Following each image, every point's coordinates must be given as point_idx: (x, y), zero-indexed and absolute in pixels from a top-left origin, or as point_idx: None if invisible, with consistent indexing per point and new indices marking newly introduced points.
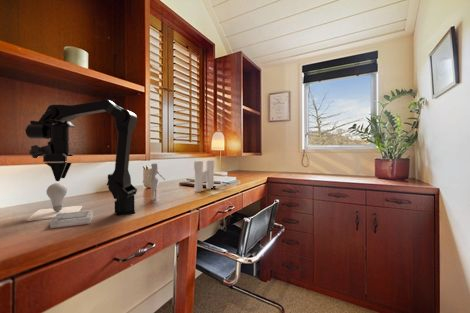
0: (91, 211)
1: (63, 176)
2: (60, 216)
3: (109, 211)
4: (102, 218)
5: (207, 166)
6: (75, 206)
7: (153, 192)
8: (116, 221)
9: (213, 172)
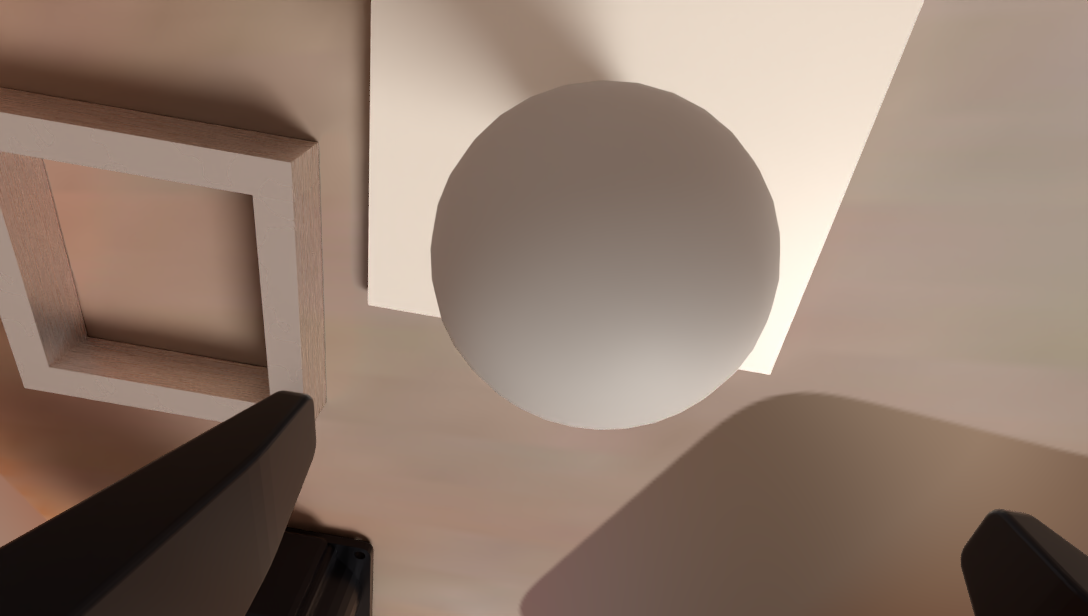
0: None
1: (998, 587)
2: (207, 180)
3: (402, 507)
4: (189, 438)
5: None
6: (780, 316)
7: None
8: (73, 488)
9: None
